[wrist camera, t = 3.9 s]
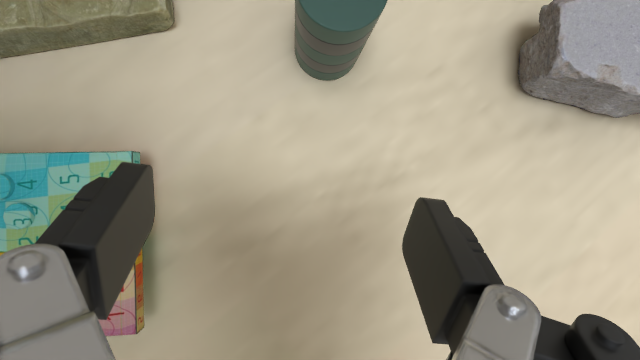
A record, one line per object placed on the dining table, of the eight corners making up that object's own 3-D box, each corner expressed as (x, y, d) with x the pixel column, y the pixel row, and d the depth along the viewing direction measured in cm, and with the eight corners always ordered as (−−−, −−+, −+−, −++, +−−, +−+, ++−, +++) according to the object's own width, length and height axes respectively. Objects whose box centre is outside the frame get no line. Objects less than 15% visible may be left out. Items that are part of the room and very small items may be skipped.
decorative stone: (689, 110, 32) (666, -12, 32) (796, 96, 25) (770, -61, 25) (517, 153, 31) (491, 28, 31) (580, 151, 24) (548, -10, 24)
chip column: (281, 47, 30) (275, -19, 20) (326, 3, 30) (343, -84, 20) (326, 93, 30) (342, 51, 20) (370, 49, 30) (409, -14, 20)
